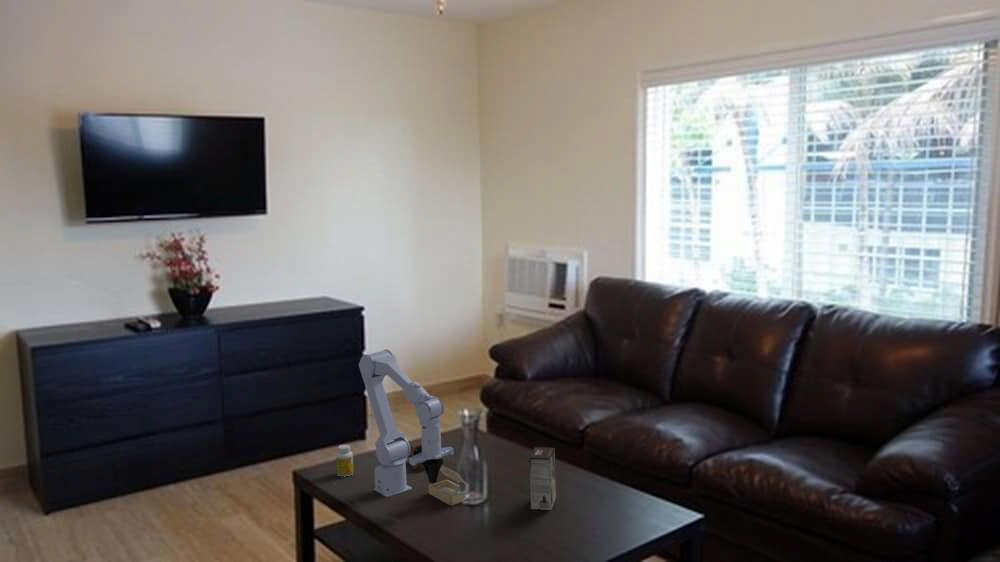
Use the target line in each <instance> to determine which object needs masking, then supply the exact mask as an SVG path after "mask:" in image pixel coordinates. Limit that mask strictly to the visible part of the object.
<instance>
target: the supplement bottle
mask: <svg viewBox="0 0 1000 562" xmlns="http://www.w3.org/2000/svg"><path fill="white" fill-rule="evenodd" d="M337 450H338V452H337V453H336V471H337V472H336V473H337V474H336V475H337V476H338V477H339V476H344V477H343V478H346V477H345V476H349V477H351V476H350V475H352V476H353V475H354V474H353V473H354V471H355V469H354V467H355V466H354V455H353V451H351V445H350V444H340V445H338V447H337Z"/></svg>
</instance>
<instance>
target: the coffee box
mask: <svg viewBox="0 0 1000 562" xmlns="http://www.w3.org/2000/svg"><path fill="white" fill-rule="evenodd" d="M529 476H530V477H529V479H530V481H529V482H530V484H529V485H530V509H531V510H538V509H540V510H542V511H552V510H553V507H554V504H555V502H556V498H557V495H556V494H557V493H556V491H557V490H556V486H557V485H556V448H555V447H539V446H538V447H537V446H536V447H534V448H533V450H532V452H531V455H530V457H529Z"/></svg>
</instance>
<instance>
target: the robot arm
mask: <svg viewBox="0 0 1000 562" xmlns="http://www.w3.org/2000/svg"><path fill="white" fill-rule="evenodd" d="M358 367H359V371H360V374H361V378H362V380H363V384H364V386H365V390H366V393H367V396H368V400H369V403H370V406H371V410H372V413H373V416H374V419H375V423H376V425H377V430H378V432H379V436H378V437H377V440H376V441H375V443H374V445H375V449H376V451H375V452H376V453H375V454H376V458H377V461H378V462H379V463H380V465H378V466H376V467H375V468H374V488H373V490H374V491H375V492H378V493H379V494H381V495H382V496H384V497H391V496H394V495H398V494H401V493H403V492H406V491H410V490H412V489H413V487H412V486H410V485H408V484H407V468H406V467H407V466H406V462H407V461H408V460H409V461H408V462H409V464H410V465H411V466H412V465H413V466H414V465H416V464H418V463H422V465H423V466H422V467H423V468H424V469H425V472H426V475H427V479H428V482H429V483H430V484H435V483H438V482H437V481H438V478H439V477H438V476H439V473H440V471H441V470H440V468H441V466H443V464H444V459H443V458H442V457H445V456H448V455H450V456H453V455H454V453H455V452H454V448H453V447H451V446H448V447H442V441H441V440H442V437H441V435H442V434H441V416H442V415H443V414H444V411H445V407H444V402H442V400H441V398H439V397H437V396H434V395H430V393H428V392H427V390H426V389H425V388H424V387H423V386H422V384H421V383H420V382H418V381H412V380H411V379H410V378H409V376H408V375H407V374H406V373H405V371H404V370H403V369H402V368H401V366H400V365H399V364H398V362H397V356H396V355H394V354H393V352H392V351H391V350H390V349H383V350H380V351H376V352H373V353H369V354H364V355H362V356H361V358H360V361H359V363H358ZM386 376H388V377H389V378H390V379H391V380H392V381H393V382H394V383H396V385H398V387H400V388H401V389H402V390H403V391H402V392H403V394H402V395H403V396H404V398H406V400H407V401H408V402H409V403H410V404H411V405H412V406H413V407H414V408H415V409H416V410H415V413H416V416H417V418H418V420H419V425H420V431H421V433H420V434H421V444H422V452H421V453H419V454H417V455H415V456H413V457H410V458H409V457H408V456H409V455H410V451H411V449H410V446H411V444H410V443H409V441H408V439H407V438H406V435H405V433H404V432H402V431H400V430H399V429H397V427H396V423H395V421H394V416H393V414H392V411H391V407H390V404H389V400H388V398H387V393H386V390H385V387H384V384H383V381H384V379H385V377H386Z"/></svg>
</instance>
